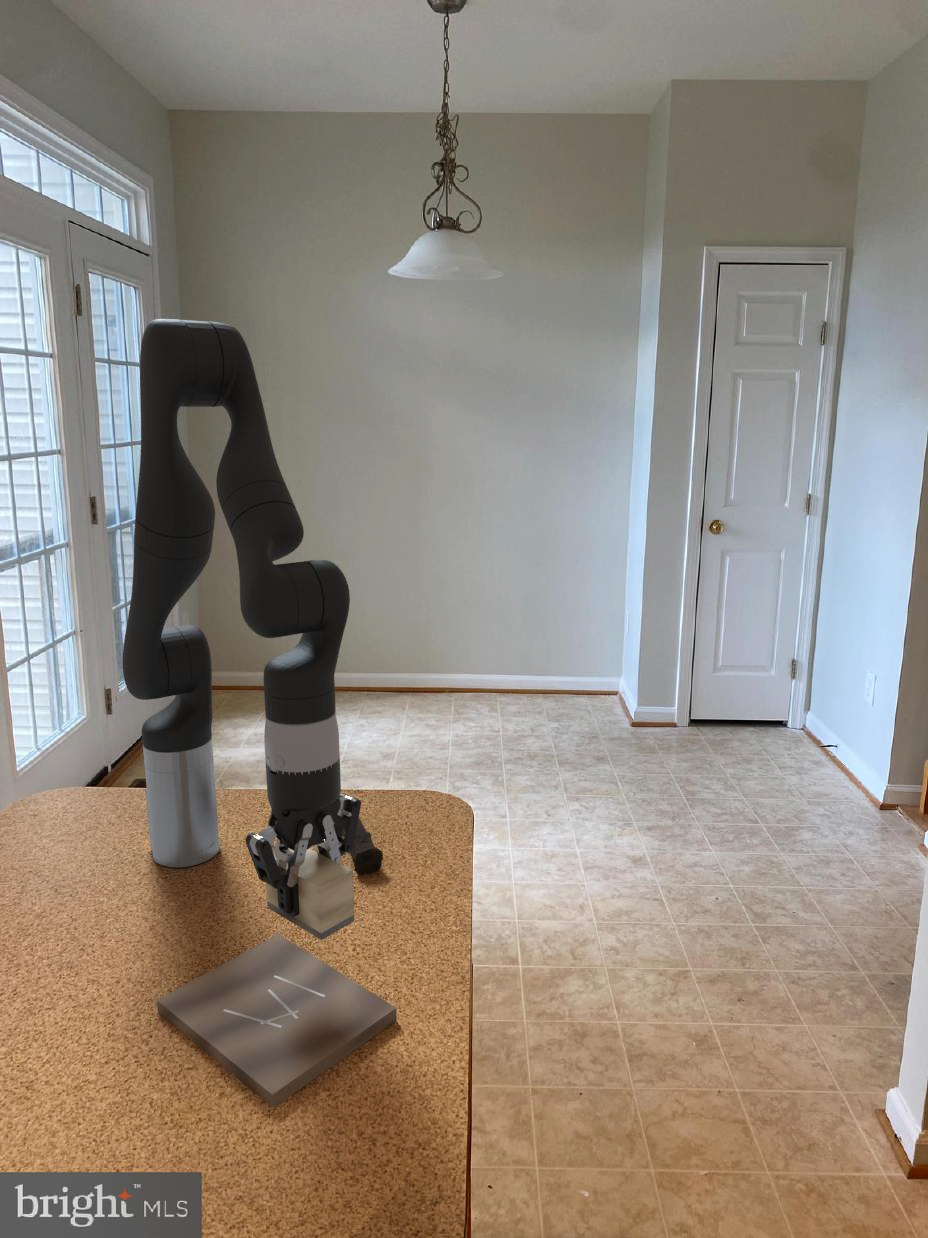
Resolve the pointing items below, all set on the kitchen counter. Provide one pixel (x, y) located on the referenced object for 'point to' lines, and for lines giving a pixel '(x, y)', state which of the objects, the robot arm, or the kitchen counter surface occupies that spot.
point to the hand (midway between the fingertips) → (309, 902)
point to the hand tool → (365, 852)
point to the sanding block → (320, 896)
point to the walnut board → (276, 1017)
